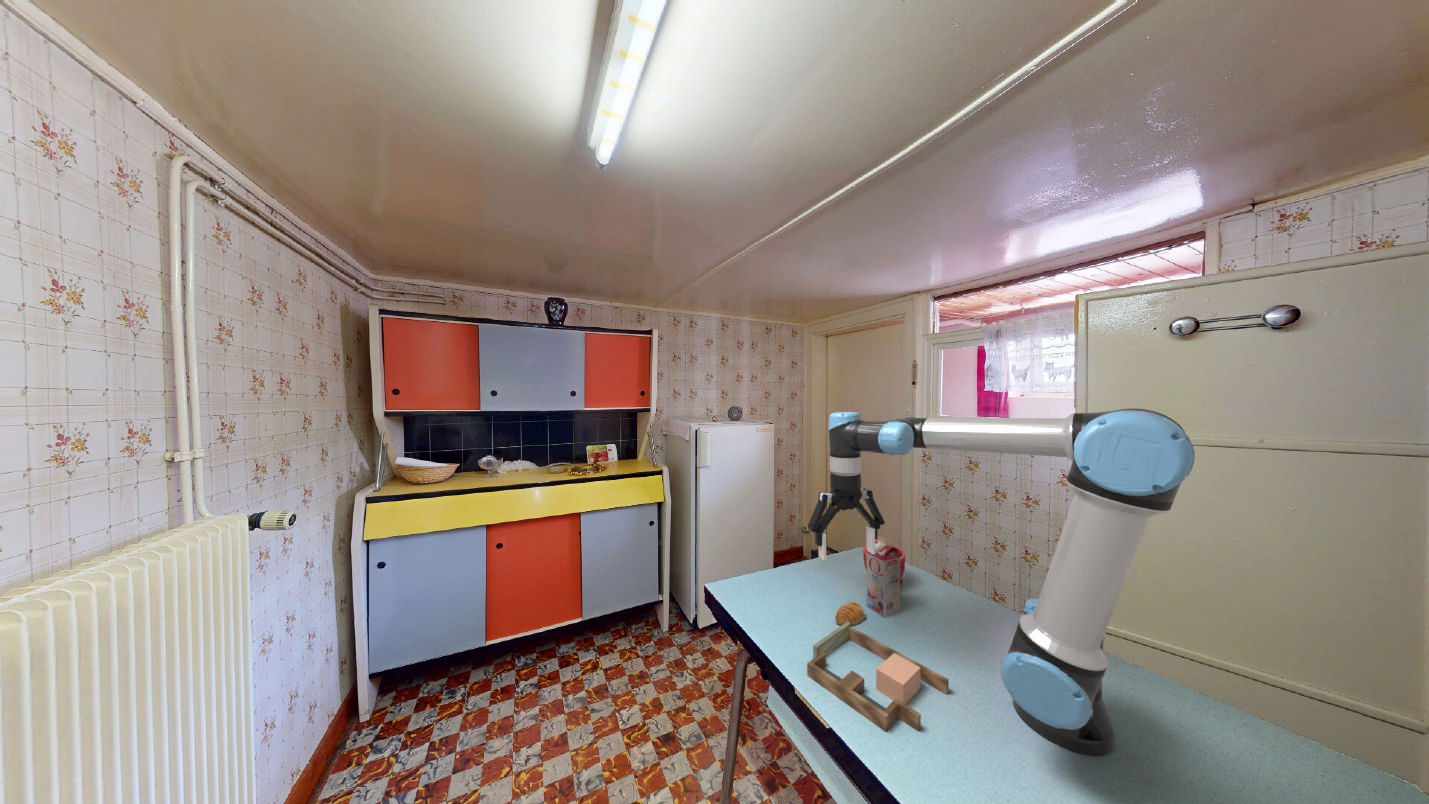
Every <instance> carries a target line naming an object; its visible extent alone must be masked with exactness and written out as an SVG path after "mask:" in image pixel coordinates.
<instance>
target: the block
mask: <svg viewBox="0 0 1429 804" xmlns="http://www.w3.org/2000/svg"><path fill="white" fill-rule="evenodd" d="M875 671H876V675H875V676H876V677H875V678H876V679H875V682H876V684H875V685H876V687H875V689H876V691H877V692H879V693H881V694H883V696H886V697H887V698H889V699H890V700H891V701H893V700H894V699H895V698H896V699H898V700H899V701H901V702H903V703H904V704H906V705H907V704H908V703H909V701H910V700H911V699H913V697H914V696H915V695H916V694H917V693H918V692H919V690H920V689H921V680H920V674H921V668H920V667H919V666H917V665H915V664H913V663H911V662H910V661H908V660H906V659H904V658H902V657H901V656H899V655H897V654H895V653H894V654H892V655H891V656H890V657H889V658H888V659H887V660H884V661H883V662H882V663H881V664H880V665H878V667H877V668H876V669H875Z"/></svg>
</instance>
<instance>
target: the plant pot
mask: <svg viewBox="0 0 1429 804" xmlns="http://www.w3.org/2000/svg"><path fill="white" fill-rule="evenodd" d="M893 548H895V549H898V550H899V551H900V589H901V588H902V587H903V585H904V581H903V579H902V578H903V576H904V573H905V569H906V554H905V551H903V549H901V548H900V547H898V546H897V545H893ZM862 550H863V552H862V553H863V554H862V556H863V565H864V569H865V571H866V572H867V545H864V547H863V549H862ZM865 579H866V580H867V573H866V574H865Z"/></svg>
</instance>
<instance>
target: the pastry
mask: <svg viewBox="0 0 1429 804" xmlns="http://www.w3.org/2000/svg"><path fill="white" fill-rule="evenodd" d="M866 617H867V616H866V612H865V610H864V609H863V606H862V605H860V604H859V603H858V602H856V601H850V600H849V602H847V603H845V604H843V605H841V606H840V607H839V608H838V610H837V611H836V614H835V623H836V624H839V625H840V626H841V625H843V624H844V623H846V622H849V623H851V626H856V625H857V624H859V623H861V622H863V621H864V620H865V619H866Z"/></svg>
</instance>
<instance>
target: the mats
mask: <svg viewBox="0 0 1429 804" xmlns="http://www.w3.org/2000/svg"><path fill="white" fill-rule="evenodd" d="M821 669H822V670H823V671H825V672H826V673H828V674H829V675H831V676H832V677H834V678H835V679H837V680H838V681H841V680H842V679H843V678H841V677H839V676H838V675H836V674H835V673H834V672H832V671H830V670H829V669H828V668H827V667H826V666H825V667H823V668H821ZM860 696H862V697H863V698H865V699H866V700H868V701H869V702H871V703H872V704H874V705H875V706H877V707H878V708H880V709H881V710H883V711H884V710H885V709H886V708H887V707H885V706H884V705H882V704H880V703H878V702H877V701H875V700H874V699H873V698H871V697H870V696H868V695H867V694H865V693H864V692H863V693H861V694H860Z"/></svg>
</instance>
